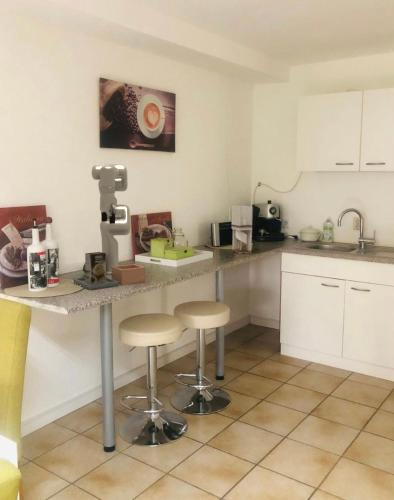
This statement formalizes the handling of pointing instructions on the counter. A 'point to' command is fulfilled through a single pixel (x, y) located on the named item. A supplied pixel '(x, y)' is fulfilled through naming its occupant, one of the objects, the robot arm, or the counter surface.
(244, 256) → the counter surface
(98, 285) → the tray
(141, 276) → the terracotta open box
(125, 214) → the robot arm
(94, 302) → the counter surface
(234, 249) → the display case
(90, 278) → the coffee box
